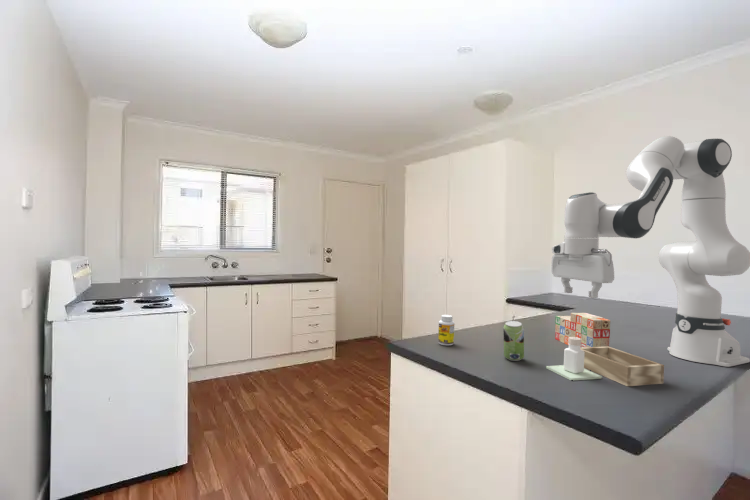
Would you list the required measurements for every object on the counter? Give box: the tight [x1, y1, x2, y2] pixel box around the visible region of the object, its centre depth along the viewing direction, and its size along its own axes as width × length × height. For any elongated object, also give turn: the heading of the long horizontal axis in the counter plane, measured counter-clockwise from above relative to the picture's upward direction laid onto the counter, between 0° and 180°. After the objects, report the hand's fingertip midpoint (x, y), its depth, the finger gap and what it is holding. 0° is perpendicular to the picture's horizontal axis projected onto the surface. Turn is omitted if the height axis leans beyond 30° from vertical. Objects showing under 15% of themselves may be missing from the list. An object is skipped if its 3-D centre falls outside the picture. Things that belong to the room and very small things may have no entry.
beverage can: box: [503, 320, 525, 362], centre depth 118 cm, size 6×7×12 cm
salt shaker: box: [563, 337, 585, 374], centre depth 106 cm, size 4×4×10 cm
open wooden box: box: [581, 346, 665, 387], centre depth 107 cm, size 12×18×5 cm, turn 13°
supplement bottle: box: [437, 314, 455, 346], centre depth 134 cm, size 6×6×10 cm
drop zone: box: [545, 364, 603, 381], centre depth 106 cm, size 10×10×1 cm
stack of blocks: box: [554, 312, 611, 348], centre depth 135 cm, size 21×6×12 cm, turn 6°
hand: (580, 295), depth 109 cm, fingers open, 8 cm apart
